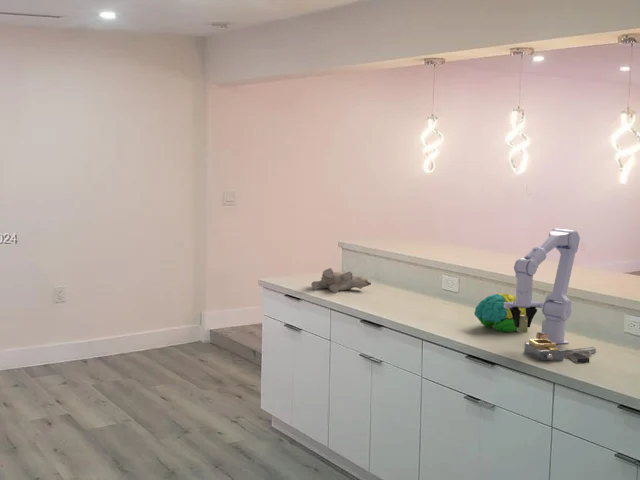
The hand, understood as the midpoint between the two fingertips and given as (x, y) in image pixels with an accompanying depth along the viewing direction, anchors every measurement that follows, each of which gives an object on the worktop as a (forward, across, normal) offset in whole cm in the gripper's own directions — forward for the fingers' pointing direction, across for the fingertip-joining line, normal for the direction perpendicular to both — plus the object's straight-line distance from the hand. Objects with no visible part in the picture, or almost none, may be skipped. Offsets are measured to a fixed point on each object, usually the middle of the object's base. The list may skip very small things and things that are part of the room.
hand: (522, 326), depth 277 cm
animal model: (+9, -46, +119) cm, 128 cm away
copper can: (+9, +8, +1) cm, 12 cm away
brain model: (+9, +6, +32) cm, 34 cm away
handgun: (+9, +19, -12) cm, 24 cm away
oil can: (+2, 0, 0) cm, 2 cm away
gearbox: (+9, +4, -11) cm, 14 cm away
